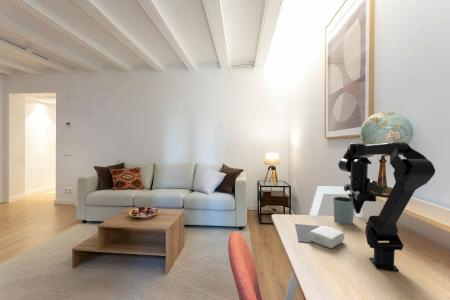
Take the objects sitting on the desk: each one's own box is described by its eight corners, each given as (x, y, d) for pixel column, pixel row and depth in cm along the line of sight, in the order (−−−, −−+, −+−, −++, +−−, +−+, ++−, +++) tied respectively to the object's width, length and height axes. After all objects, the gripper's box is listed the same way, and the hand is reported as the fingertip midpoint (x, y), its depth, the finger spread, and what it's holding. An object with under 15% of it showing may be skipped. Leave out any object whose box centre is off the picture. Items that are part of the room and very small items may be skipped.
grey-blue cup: (351, 219, 120) (351, 197, 120) (357, 226, 111) (358, 202, 110) (330, 217, 123) (331, 196, 122) (334, 224, 113) (335, 200, 113)
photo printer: (308, 230, 93) (323, 223, 101) (307, 240, 93) (322, 232, 101) (333, 239, 85) (347, 231, 93) (332, 250, 85) (346, 241, 93)
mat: (332, 245, 89) (332, 244, 89) (298, 241, 93) (298, 241, 93) (323, 227, 109) (323, 226, 109) (295, 224, 112) (295, 223, 112)
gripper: (393, 179, 78) (392, 223, 79) (372, 172, 96) (371, 208, 97) (358, 177, 81) (356, 220, 81) (344, 171, 99) (342, 206, 99)
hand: (357, 213), depth 90 cm, fingers closed
